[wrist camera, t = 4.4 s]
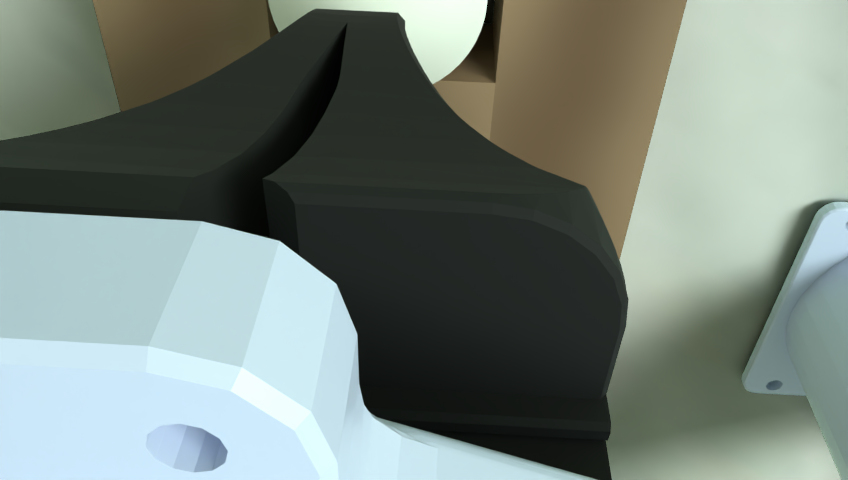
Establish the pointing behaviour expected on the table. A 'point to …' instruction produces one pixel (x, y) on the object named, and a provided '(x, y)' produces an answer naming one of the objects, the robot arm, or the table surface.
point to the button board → (461, 77)
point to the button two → (410, 25)
